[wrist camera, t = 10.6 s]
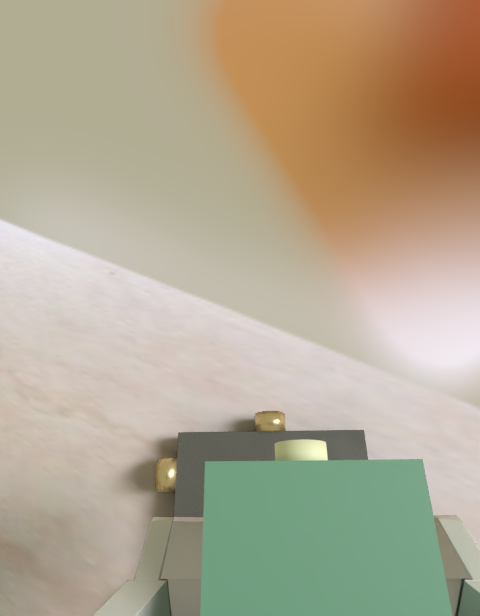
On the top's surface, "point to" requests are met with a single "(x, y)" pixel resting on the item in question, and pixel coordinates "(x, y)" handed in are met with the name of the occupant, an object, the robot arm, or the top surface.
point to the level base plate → (240, 455)
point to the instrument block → (319, 537)
